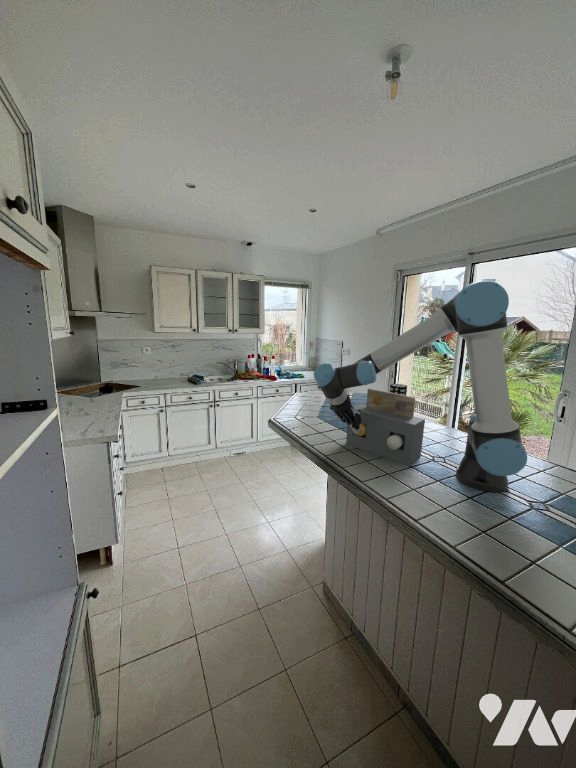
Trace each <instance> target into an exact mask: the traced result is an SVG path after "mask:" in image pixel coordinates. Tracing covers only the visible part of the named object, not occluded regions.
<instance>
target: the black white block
mask: <svg viewBox="0 0 576 768" xmlns="http://www.w3.org/2000/svg"><path fill="white" fill-rule="evenodd" d="M407 392H408V385H406V384H403V383H402V384H401V383H391V384H390V385H389V393H394V394H400V395H405V396H407Z"/></svg>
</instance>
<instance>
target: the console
mask: <svg viewBox="0 0 576 768" xmlns="http://www.w3.org/2000/svg"><path fill="white" fill-rule="evenodd" d="M353 407H354V409H355V410H361V412H360V417H361V423H362V424H365V425H367V427H366V434H365V435H362V436H359V435H356V434H354V432H353V430H352V429H351V428H350V426H349V425H348V424H347V423H346V425H347V426H346V441H345V445H348V446H351V447H354V448H357V449H360V450H363V451H365V452H368V453H371V454H375V455H377V456H380V457H383V458H385V459H388V460H392V461H395V462H398V463H401V464H403V465H407V466H408V467H409V466H410V467H411V466H412V465H413V464H415V463H416V462H417V461H418V460H419V459H421V455H422V448H423V440H424V432H425V425H426V424H425V423H426V418H421V417H418V416H414V415H413V418H411V417H406V416H402V415H398V414H394V413H390V412H385V411H381V410H377V409H373V408H369V407H366V404H363V403H362V404H361V403H360V404H358V405H357V404H356V405H353ZM394 434H398V435H400V436H401V437H402V438H403V441H404V443H403V445H402V446H401V447H399V448H398V449H396V450H393V449H391V448H389V447H388V445H387V439H388V438H389V437H390V436H392V435H394Z"/></svg>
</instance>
